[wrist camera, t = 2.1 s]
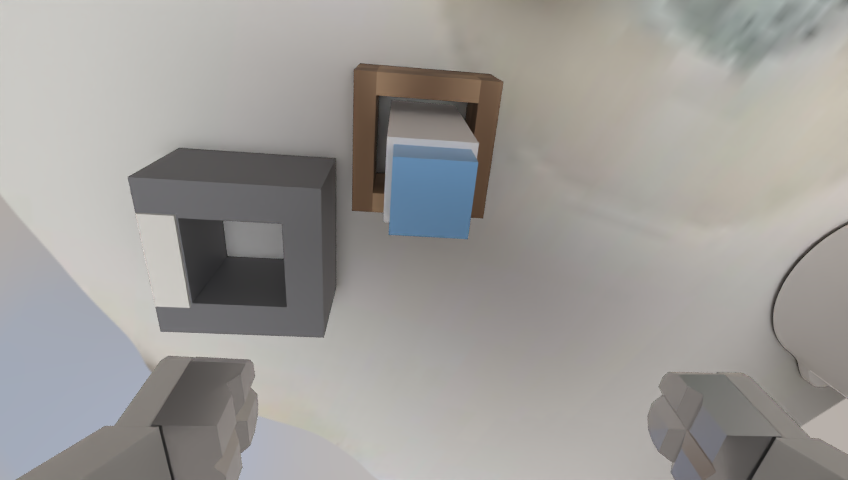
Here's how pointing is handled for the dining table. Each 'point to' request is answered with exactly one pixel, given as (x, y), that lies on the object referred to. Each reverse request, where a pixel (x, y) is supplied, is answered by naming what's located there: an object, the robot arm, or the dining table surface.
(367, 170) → the holster
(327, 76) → the dining table surface
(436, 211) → the plug
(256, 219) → the port
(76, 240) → the dining table surface
